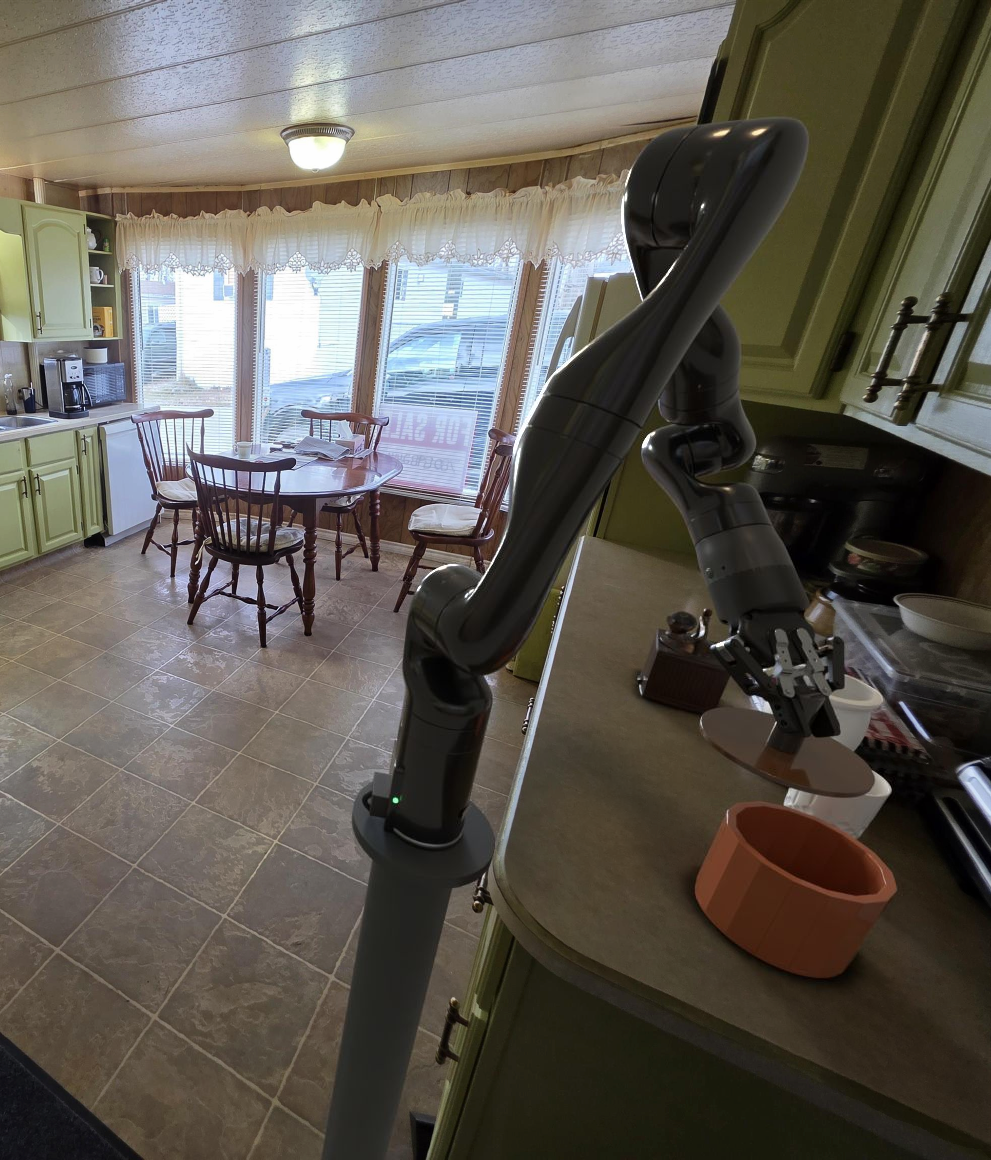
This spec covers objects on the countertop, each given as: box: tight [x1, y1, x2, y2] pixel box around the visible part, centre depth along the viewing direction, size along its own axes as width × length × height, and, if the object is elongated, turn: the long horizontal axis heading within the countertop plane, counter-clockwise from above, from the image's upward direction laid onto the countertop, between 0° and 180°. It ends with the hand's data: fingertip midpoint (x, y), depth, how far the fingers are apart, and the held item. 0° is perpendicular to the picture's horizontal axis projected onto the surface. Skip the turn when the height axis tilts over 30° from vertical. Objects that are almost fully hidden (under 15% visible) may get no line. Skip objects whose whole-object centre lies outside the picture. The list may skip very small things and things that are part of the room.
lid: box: [698, 686, 875, 798], centre depth 62 cm, size 14×14×8 cm
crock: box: [694, 800, 898, 979], centre depth 64 cm, size 13×13×10 cm
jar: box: [761, 664, 884, 753], centre depth 86 cm, size 11×10×15 cm
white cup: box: [783, 769, 893, 840], centre depth 75 cm, size 8×8×10 cm
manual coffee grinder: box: [636, 608, 731, 716], centre depth 102 cm, size 16×11×18 cm
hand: (813, 736), depth 60 cm, fingers closed on lid, 2 cm apart
